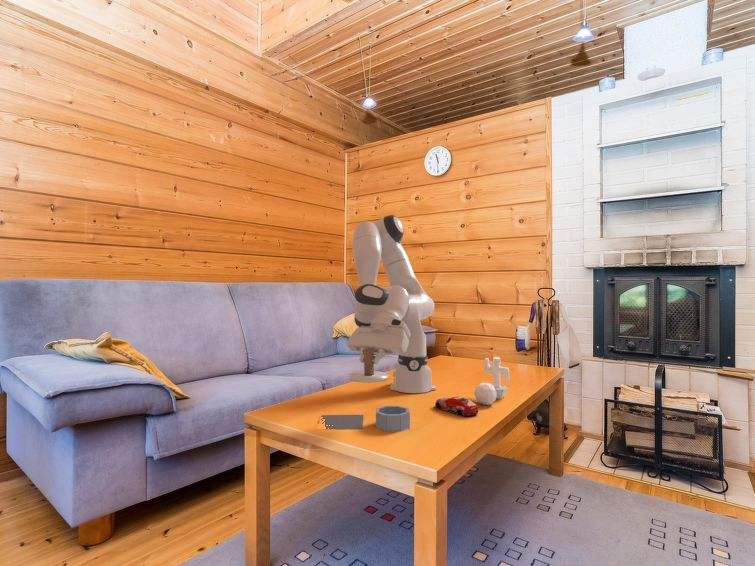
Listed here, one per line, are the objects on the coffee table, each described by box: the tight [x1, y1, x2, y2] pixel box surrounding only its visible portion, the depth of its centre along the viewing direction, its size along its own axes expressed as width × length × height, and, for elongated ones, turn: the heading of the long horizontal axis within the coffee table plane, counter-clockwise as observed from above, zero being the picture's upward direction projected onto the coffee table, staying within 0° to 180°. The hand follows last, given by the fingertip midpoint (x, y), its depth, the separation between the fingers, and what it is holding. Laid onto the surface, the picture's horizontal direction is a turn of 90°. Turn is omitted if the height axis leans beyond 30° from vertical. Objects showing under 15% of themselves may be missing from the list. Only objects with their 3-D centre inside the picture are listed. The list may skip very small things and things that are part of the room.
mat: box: [321, 414, 364, 430], centre depth 133 cm, size 14×14×1 cm
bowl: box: [375, 405, 411, 432], centre depth 129 cm, size 10×10×5 cm
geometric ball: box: [473, 382, 497, 406], centre depth 154 cm, size 8×8×8 cm
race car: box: [434, 396, 479, 417], centre depth 146 cm, size 16×7×5 cm, turn 37°
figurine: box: [483, 356, 510, 400], centre depth 164 cm, size 7×9×15 cm
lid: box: [349, 348, 390, 384], centre depth 131 cm, size 12×12×9 cm
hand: (368, 362), depth 130 cm, fingers closed on lid, 3 cm apart
